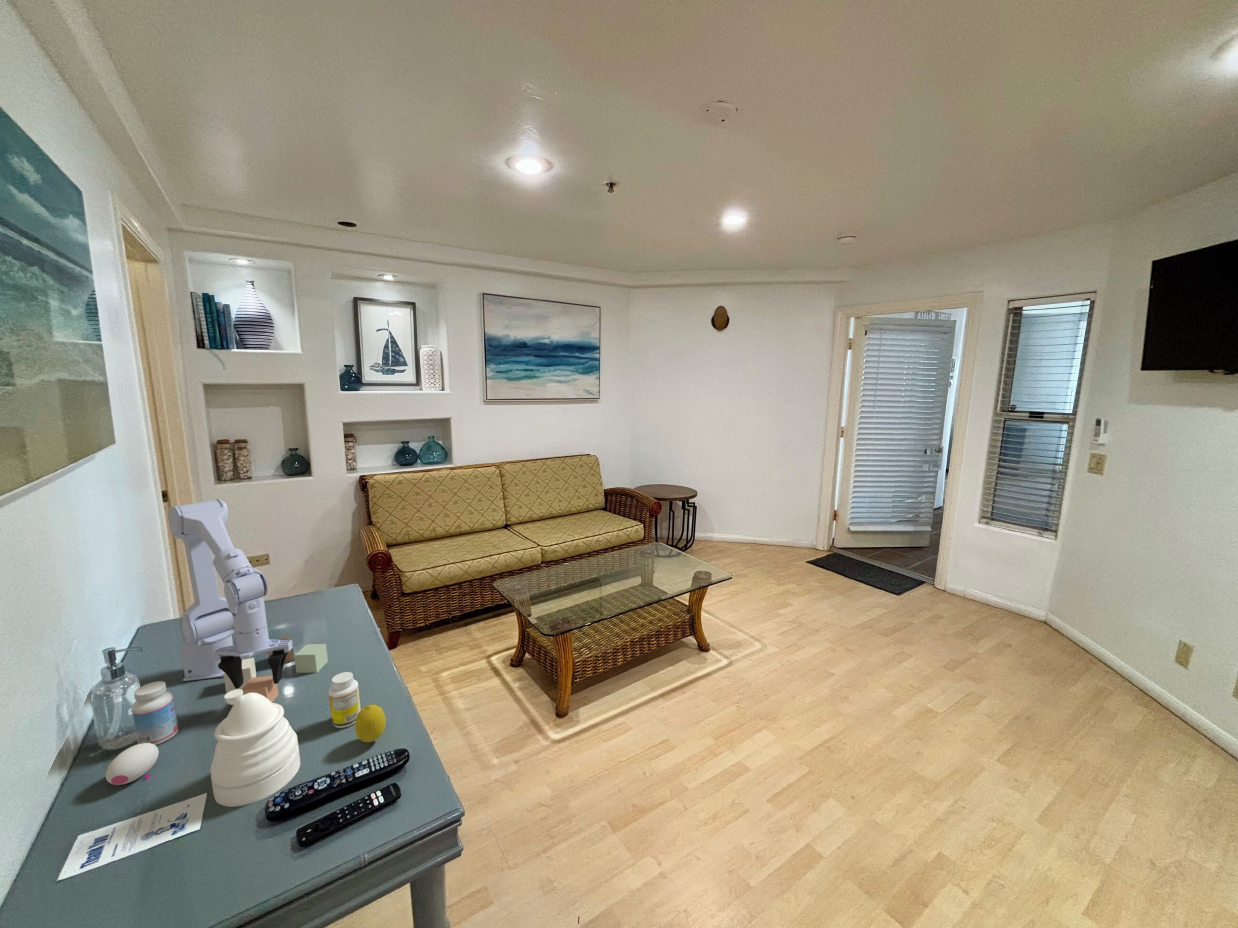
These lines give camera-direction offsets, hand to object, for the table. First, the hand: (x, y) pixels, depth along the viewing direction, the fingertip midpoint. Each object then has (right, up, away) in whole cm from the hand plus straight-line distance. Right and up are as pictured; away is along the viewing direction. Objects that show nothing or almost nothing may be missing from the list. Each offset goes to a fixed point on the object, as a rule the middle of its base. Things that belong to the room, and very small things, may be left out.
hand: (258, 683), depth 109 cm
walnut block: (-7, -2, +17) cm, 19 cm away
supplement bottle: (+23, -6, -5) cm, 24 cm away
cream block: (-10, -4, +8) cm, 13 cm away
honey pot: (+15, -8, -20) cm, 26 cm away
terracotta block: (0, -5, +1) cm, 5 cm away
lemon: (+31, -7, -11) cm, 34 cm away
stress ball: (-8, -8, -20) cm, 23 cm away
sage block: (+3, -3, +15) cm, 15 cm away
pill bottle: (-13, -7, -10) cm, 18 cm away
